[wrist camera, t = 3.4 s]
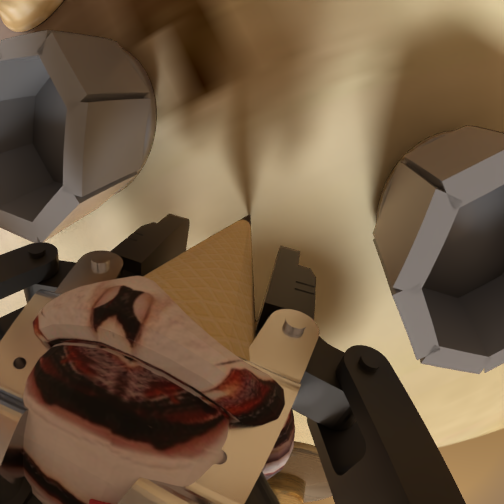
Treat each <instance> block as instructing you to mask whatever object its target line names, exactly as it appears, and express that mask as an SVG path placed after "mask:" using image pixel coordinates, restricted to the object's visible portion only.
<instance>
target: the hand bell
mask: <svg viewBox="0 0 504 504" xmlns="http://www.w3.org/2000/svg"><path fill="white" fill-rule="evenodd" d="M63 1H64V0H0V16H1V19H2V21H3V22H4V24H5V25H6V26H7V27H8V28H9V29H11V30H12V31H15V32H23V31H28V30H30V29H32V28H35V27H36V26H38V25H40V24H41V23H42V22H43V21H45V20H46V19H47V18H48V17H49V16H50V15H51V14H52V13H53V12H54V11H55V10H56V9H57V8H58V7H59V6H60V5H61V3H62V2H63Z"/></svg>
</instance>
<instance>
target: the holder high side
mask: <svg viewBox="0 0 504 504" xmlns="http://www.w3.org/2000/svg"><path fill="white" fill-rule="evenodd" d="M155 129H156V103H155V96H154V92H153V88H152V85H151V82H150V80H149V77H148V75H147V73H146V72H145V70H144V68H143V66H142V65H141V64H140V63H139V61H138V60H137V59H136V58H135V57H134V56H133V55H132V54H131V53H130V52H128V51H126V50H125V49H123V48H121V47H120V46H119V44H118V43H117V42H116V41H112V39H107V38H101V37H96V36H90V35H84V34H77V33H70V32H62V31H53V30H44V31H39V32H34V33H29V34H24V35H20V36H15V37H11V38H7V39H3V40H1V42H0V228H3V229H5V230H7V231H9V232H11V233H14V234H16V235H18V236H20V237H23V238H25V239H27V240H29V241H32V242H34V243H39V242H45V241H46V240H48V239H49V238H51V237H52V236H54V235H55V234H57V233H59V232H60V231H62V230H63V229H65V228H66V227H68V226H70V225H71V224H73V223H74V222H76V221H78V220H79V219H81V218H83V217H84V216H86V215H88V214H89V213H91V212H93V211H94V210H96V209H98V208H99V207H100V206H101V205H102V204H103V203H104V202H106V201H107V200H108V199H109V198H110V197H111V196H113V195H114V194H116V193H118V192H120V191H121V190H123V189H124V188H126V187H127V186H128V185H129V184H130V183H131V182H132V181H133V180H134V179H135V178H136V176H137V175H138V174H139V173H140V171H141V169H142V168H143V166H144V164H145V162H146V160H147V158H148V156H149V154H150V151H151V147H152V144H153V140H154V135H155Z"/></svg>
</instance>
